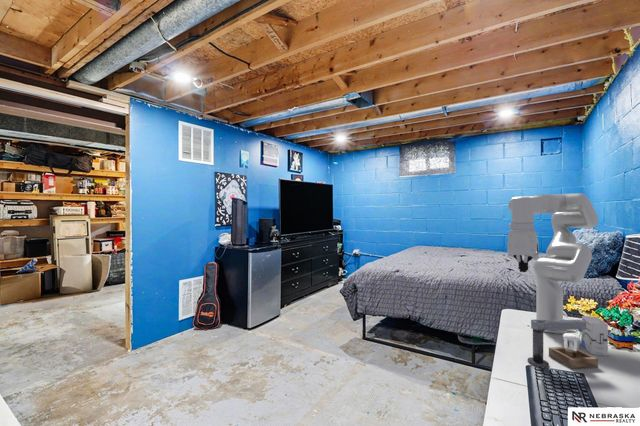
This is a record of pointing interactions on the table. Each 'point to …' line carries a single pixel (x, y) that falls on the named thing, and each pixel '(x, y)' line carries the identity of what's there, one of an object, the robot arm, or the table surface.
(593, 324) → the ink box
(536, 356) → the post
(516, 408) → the table surface
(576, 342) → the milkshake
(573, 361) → the square wooden tray
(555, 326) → the lever
